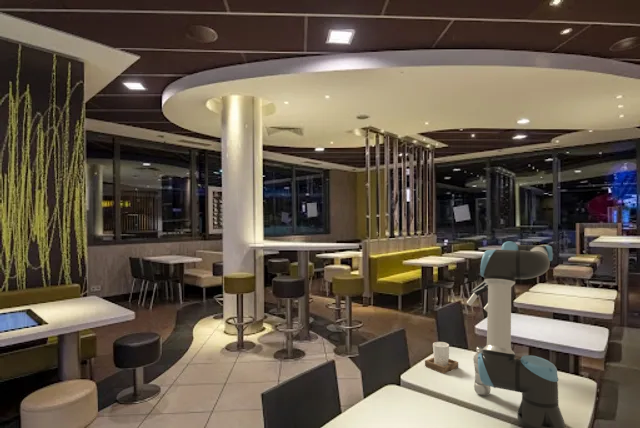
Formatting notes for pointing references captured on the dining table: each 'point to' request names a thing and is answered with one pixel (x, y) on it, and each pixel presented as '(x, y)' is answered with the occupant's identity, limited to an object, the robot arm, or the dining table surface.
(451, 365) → the brown wooden tray
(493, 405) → the dining table surface
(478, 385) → the plastic bottle
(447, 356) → the white cup
